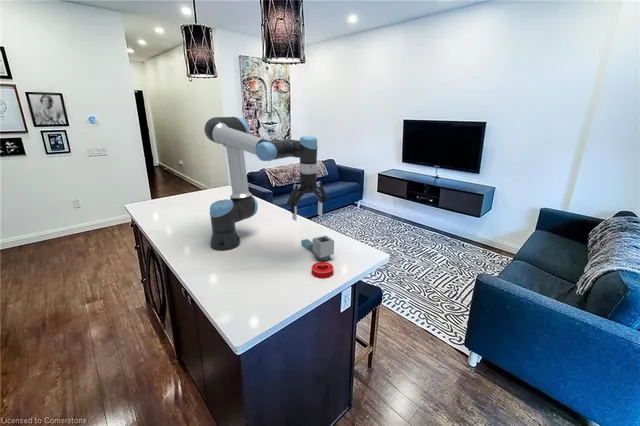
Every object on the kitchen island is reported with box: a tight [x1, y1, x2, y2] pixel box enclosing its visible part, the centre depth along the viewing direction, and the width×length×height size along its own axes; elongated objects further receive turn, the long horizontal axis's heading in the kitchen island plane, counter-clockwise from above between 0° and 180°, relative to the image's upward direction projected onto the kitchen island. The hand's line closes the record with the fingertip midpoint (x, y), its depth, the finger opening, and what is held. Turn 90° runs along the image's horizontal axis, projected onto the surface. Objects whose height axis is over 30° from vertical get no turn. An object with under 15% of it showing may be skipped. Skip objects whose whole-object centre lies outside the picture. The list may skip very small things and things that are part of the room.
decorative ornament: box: [311, 261, 334, 279], centre depth 129 cm, size 10×10×3 cm
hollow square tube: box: [312, 235, 335, 258], centre depth 140 cm, size 7×7×7 cm
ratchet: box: [300, 238, 331, 263], centre depth 147 cm, size 22×7×8 cm, turn 31°
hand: (307, 217), depth 137 cm, fingers open, 13 cm apart
